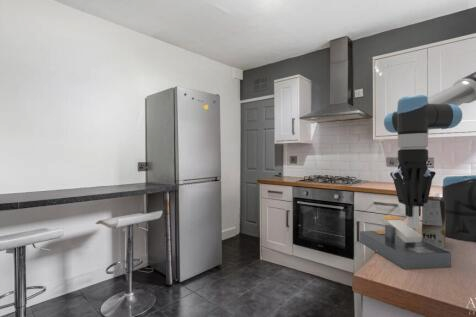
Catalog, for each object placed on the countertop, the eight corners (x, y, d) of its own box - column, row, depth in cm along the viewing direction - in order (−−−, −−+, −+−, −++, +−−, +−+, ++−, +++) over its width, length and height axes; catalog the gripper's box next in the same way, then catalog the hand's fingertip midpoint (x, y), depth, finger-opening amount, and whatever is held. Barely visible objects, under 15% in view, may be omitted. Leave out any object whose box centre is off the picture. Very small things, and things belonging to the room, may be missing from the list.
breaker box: (396, 240, 95) (396, 216, 95) (451, 266, 73) (451, 235, 73) (359, 242, 94) (359, 217, 93) (404, 269, 72) (404, 237, 71)
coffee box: (444, 249, 86) (445, 200, 86) (421, 245, 90) (421, 198, 90) (445, 241, 93) (445, 197, 93) (423, 238, 97) (423, 195, 97)
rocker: (394, 220, 89) (395, 215, 89) (421, 241, 78) (422, 235, 77) (380, 221, 89) (381, 215, 88) (405, 242, 77) (406, 236, 77)
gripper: (422, 148, 82) (423, 222, 82) (383, 149, 81) (384, 224, 81) (443, 147, 74) (444, 229, 75) (401, 148, 73) (401, 232, 74)
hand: (413, 227), depth 78 cm, fingers closed
